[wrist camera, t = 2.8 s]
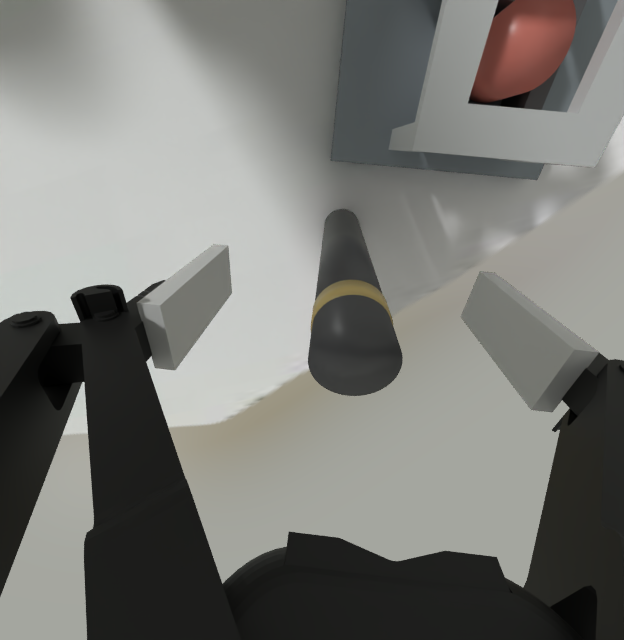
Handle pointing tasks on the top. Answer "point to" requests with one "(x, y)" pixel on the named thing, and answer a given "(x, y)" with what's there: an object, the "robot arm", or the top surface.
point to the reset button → (524, 48)
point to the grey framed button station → (456, 85)
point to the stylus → (350, 315)
